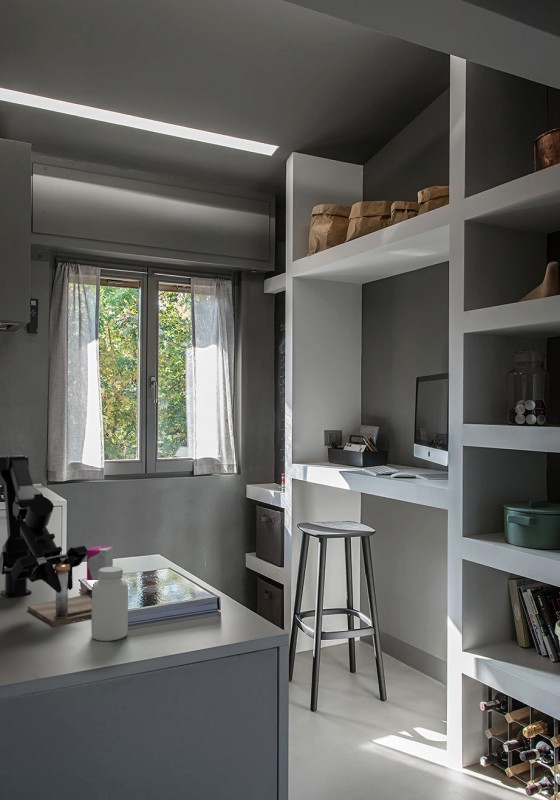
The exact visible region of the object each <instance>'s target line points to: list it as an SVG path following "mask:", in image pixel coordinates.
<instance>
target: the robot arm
mask: <svg viewBox="0 0 560 800" xmlns="http://www.w3.org/2000/svg"><path fill="white" fill-rule="evenodd" d="M29 461H30V459H29V456H27V455H25V454H5V455H0V484H1V485H2V487H3V490H4V504H5V505H4V506H5V516H6V517H5V520H6V530H7V533H6V534H7V538H6V540H5V542H4V544H3V546H2V548H1V549H2V550H1V552H0V574H1V575H4V590H0V594H2V595H3V596H5V597H6V598H12V597H19V596H23V595H31V594H32V591H31V590H30V589H28V580H29V581H30V583H35V582H36V581H42V582H45V583H46V584H47V585H48V586H49V587H50V588H51V589H53V590H54V591H55V593H56V592H58V593H60V592H61V586H60V583H59V580H58V578H57V575H56V571H55V570H54V566H55V565H58V564H69V565H70V570H68V591H72V589H73V568H76V567H78V566H80V565H81V564H82V562H83V561H84V559H85V558H87V554H88V553H89V552H88V548H87V547H86V546H85V545H82V544H81V545H80V544H79V545H77V546H75V545H74V546H72V547H70V548H69V549H68V550H67V552H66V553H64V554H61V552H62V551H63V549H62V546H57V545H56V543H55V537H56V535H55V533H50V531H49V530H48V528H47V526H48V525H49V523H50V520H51V517H52V513H53V510H54V503H53V502H52V500H50V499H49V498H47V497H44V494H43V493H42V492H41V491H39V490H37V489H36V488H35V487H34V483H33V480H32V479H33V478H32V476H31V472H30V466H29V465H30V463H29Z"/></svg>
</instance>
